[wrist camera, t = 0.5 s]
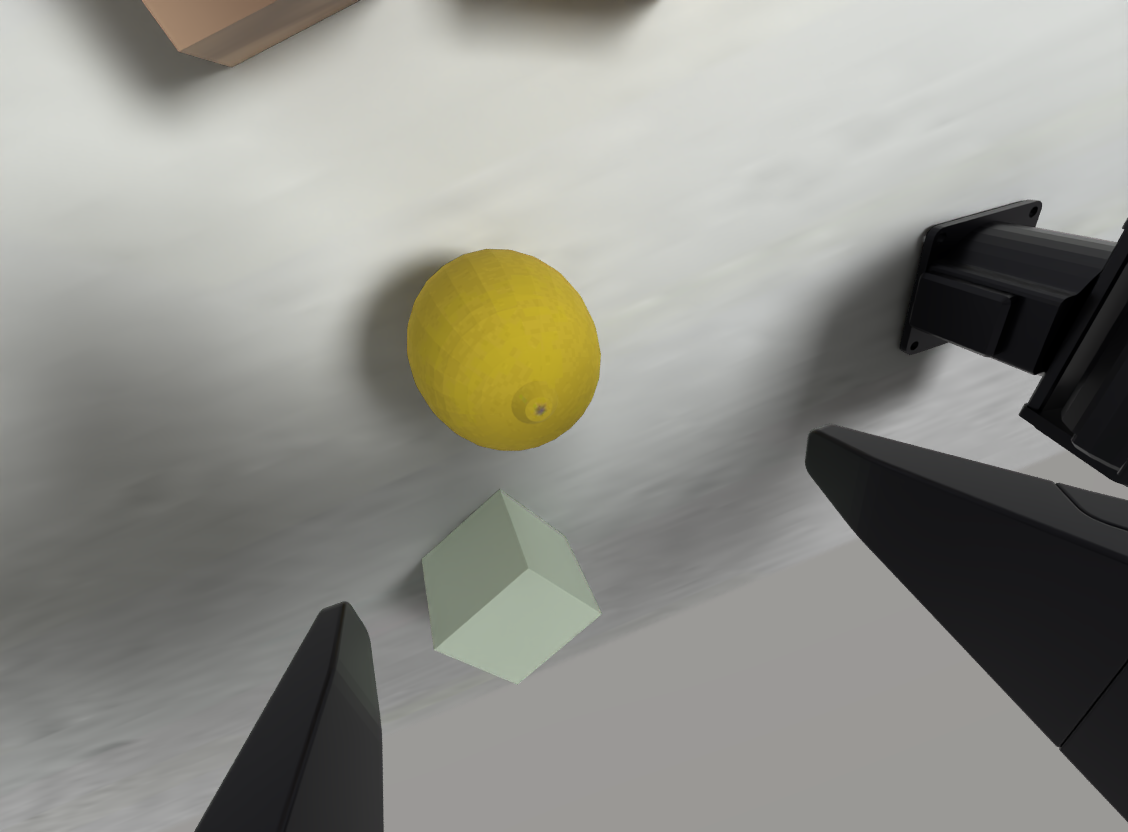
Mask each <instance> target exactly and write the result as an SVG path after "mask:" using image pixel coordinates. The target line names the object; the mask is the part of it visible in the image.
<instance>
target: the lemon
mask: <svg viewBox="0 0 1128 832" xmlns="http://www.w3.org/2000/svg"><path fill="white" fill-rule="evenodd" d="M407 355H408V360H409V363H410V367H411V370H412V374H413V378H414V381H415V384H416V386H417V388H418V389H419V391H420V393H421V394H422V396H423V397H424V399H425V401H426V402H427V404H428V405H429V407H430V409H431V410H432V411H433V413H434V414H435V415H436V416H437V417H438V418H439V419H440V420H441V421H442V422H444V423H445V424H446V425H447V426H448V427H449V428H450V429H451V430H452V431H453V432H455V433H456V434H457V435H459V436H461V437H463V438H465V439H467V440H469V441H471V442H473V443H475V444H477V445H479V446H482V447H487V448H491V449H495V450H503V451H520V450H525V449H530V448H535V447H539V446H541V445H543V444H545V443H548V442H550V441H552V440H554V439H556V438H557V437H559V436H560V435H562V434H563V433H564V432H566V431H567V430H569V429H570V428H571V427H572V426H573V425H574V424H575V423H576V422H577V421H578V420H579V418H580V417H581V416H582V415H583V414H584V412H585V410H586V408H587V407H588V405H589V403H590V402H591V400H592V398H593V395H594V392H595V389H596V386H597V383H598V380H599V372H600V358H601V353H600V348H599V342H598V337H597V332H596V328H595V325H594V322H593V320H592V318H591V316H590V314H589V312H588V310H587V308H586V306H585V304H584V302H583V300H582V298H581V296H580V295H579V293H578V292H577V291H576V290H575V289H574V288H573V287H572V286H571V284H570V283H569V282H568V281H567V280H566V279H565V278H564V277H563V276H562V275H561V273H559V272H558V271H557V270H555V269H554V268H552V267H550V266H549V265H547V264H545V263H544V262H542V261H541V260H539V259H537V258H535V257H533V256H530V255H526V254H523V253H519V252H516V251H513V250H503V249H484V250H480V251H476V252H472V253H468V254H464V255H462V256H460V257H458V258H456V259H454V260H453V261H451V262H449V263H447V264H445V265H444V266H443V267H441V268H440V269H439V270H438V271H437V272H436V273H435V274H434V275H433V276H432V277H431V278H430V279H429V280H428V281H427V282H426V283H425V285H424V287H423V288H422V290H421V291H420V293H419V295H418V296H417V298H416V300H415V302H414V305H413V309H412V312H411V315H410V319H409V322H408V328H407Z"/></svg>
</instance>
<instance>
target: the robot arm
mask: <svg viewBox="0 0 1128 832" xmlns="http://www.w3.org/2000/svg"><path fill="white" fill-rule="evenodd" d="M1041 209H1042V202H1040V201H1037V200H1025V201H1022V202H1018V203H1015V204H1011V205H1008V206H1004V207H1000V208H997V209H993V210H990V211H986V212H983V213H979V214H975V215H972V216H968V217H965V218H961V219H958V220H954V221H950V222H947V223H943V224H940V225H936V226H934V227H933V228H932V229H931V230H930V231H929V232H928V234H927V236H926V238H925V242H924V246H923V251H922V255H921V259H920V263H919V267H918V272H917V276H916V280H915V284H914V289H913V293H912V297H911V301H910V305H909V310H908V314H907V318H906V322H905V327H904V331H903V335H902V339H901V343H900V350H901V351H902V352H904V353H907V354H909V355H912V354H915V353H918V352H921V351H924V350H927V349H930V348H933V347H936V346H939V345H942V344H945V343H948V342H950V343H952V344H955V345H957V346H959V347H962V348H964V349H967V350H969V351H972V352H974V353H977V354H979V355H982V356H984V357H990V358H993V359H995V360H998V361H1000V362H1003V363H1005V364H1008V365H1010V366H1013V367H1015V368H1018V369H1020V370H1022V371H1025V372H1027V373H1030V374H1032V375H1037V374H1038V375H1040V376H1043V377H1042V378H1041V380H1040V382H1039V384H1038V386H1037V387H1036V389H1035V391H1034V393H1033V395H1032V396H1031V398H1030V400H1029V402H1028V403H1026V404H1024V406H1023V407H1022V409H1021V411H1020V413H1019V416H1020V417H1022V418H1023V419H1025V420H1026V421H1028V422H1029V423H1030V424H1032V425H1033V426H1035V428H1036V429H1038V430H1039V431H1041V432H1042V433H1043V434H1045V435H1046V436H1048V437H1049V438H1051V439H1052V440H1054V441H1055V442H1057V443H1058V444H1059V445H1061V446H1062V447H1064V448H1065V449H1067V450H1068V451H1070V452H1071V453H1073V454H1074V455H1076V456H1077V457H1078V458H1080V459H1081V460H1083V461H1084V462H1086V463H1087V464H1089V465H1090V466H1092V467H1093V468H1094V469H1096V470H1098V471H1099V472H1100V473H1102V474H1103V475H1105V476H1106V477H1108V478H1109V479H1111V480H1113V481H1115V482H1117V483H1120V484H1123V485H1125V486H1126V487H1128V218H1127V220H1126V222H1125V223H1124V225H1123V227H1122V229H1124V231H1123V233H1122V235H1121V237H1120V238H1119V240H1118V242H1113V241H1107V240H1102V239H1096V238H1091V237H1085V236H1080V235H1074V234H1069V233H1063V232H1058V231H1052V230H1047V229H1041V228H1036V227H1035V226H1036V224H1037V221H1038V218H1039V215H1040V212H1041ZM805 466H806V469H807V471H808V473H809V475H810V476H811V477H812V479H813V480H814V481H815V482H816V484H817V485H818V486H819V488H820V489H821V490H822V491H823V493H824V494H825V495H826V497H827V498H828V499H829V501H830V502H831V503H832V504H833V506H834V507H835V508H836V510H837V511H838V512H839V513H840V515H841V516H842V517H843V519H844V520H845V521H846V522H847V524H848V525H849V526H850V527H851V529H852V530H853V531H854V532H855V533H856V535H857V536H858V537H859V538H860V539H861V540H862V541H863V542H864V543H865V545H866V546H867V547H868V548H869V549H870V550H871V551H872V552H873V553H874V554H875V555H876V556H877V557H878V558H879V559H880V560H881V561H882V562H883V563H884V564H885V566H886V567H887V568H888V569H889V570H890V571H891V572H892V573H893V574H894V575H895V576H896V577H897V578H898V579H899V581H900V582H901V583H902V584H903V585H904V586H905V587H906V588H907V589H908V590H909V591H910V592H911V593H912V594H913V595H914V596H915V597H916V598H917V600H919V602H920V603H921V604H922V605H923V606H924V607H925V608H926V609H927V610H928V611H929V612H930V613H931V614H932V615H933V616H934V618H935V619H936V620H937V621H938V622H939V623H940V624H941V625H942V626H943V627H944V628H945V629H946V630H947V631H948V632H949V633H950V634H951V635H952V636H953V637H954V639H955V640H956V641H957V642H958V643H959V644H960V645H961V646H962V647H963V648H964V649H965V650H966V651H967V652H968V653H969V655H971V657H972V658H973V659H974V660H975V661H976V662H977V663H978V664H979V665H980V666H981V667H982V668H983V669H984V670H985V671H986V672H987V674H988V675H989V676H990V677H991V678H992V679H993V680H994V681H995V682H996V683H997V684H998V685H999V686H1000V687H1001V688H1002V689H1003V690H1004V691H1005V693H1006V694H1007V695H1008V696H1009V697H1010V698H1011V699H1012V700H1013V701H1014V702H1015V703H1016V704H1017V705H1018V706H1019V707H1020V708H1021V709H1022V711H1023V712H1024V713H1025V714H1026V715H1027V716H1028V717H1029V718H1030V719H1031V720H1032V721H1033V722H1034V723H1035V724H1036V725H1037V726H1038V727H1039V728H1040V730H1041V731H1042V732H1043V733H1044V734H1045V735H1046V736H1047V737H1048V738H1049V739H1050V740H1051V741H1052V742H1053V743H1054V744H1055V745H1056V746H1057V747H1059V750H1060V751H1061V752H1062V753H1063V754H1064V755H1065V756H1066V757H1067V759H1068V760H1069V761H1070V762H1071V763H1072V764H1073V765H1074V766H1075V767H1076V768H1077V769H1078V770H1079V771H1080V772H1081V773H1082V774H1083V775H1084V776H1085V778H1086V779H1087V780H1088V781H1089V782H1090V783H1091V784H1092V785H1093V786H1094V787H1095V788H1096V789H1097V790H1098V791H1099V792H1100V793H1101V794H1102V795H1103V797H1105V799H1107V801H1108V802H1109V803H1110V804H1111V805H1112V806H1113V807H1114V808H1115V809H1116V810H1117V811H1118V812H1119V813H1120V814H1121V816H1123V818H1125V820H1126V821H1127V822H1128V500H1125V499H1120V498H1116V497H1112V496H1108V495H1104V494H1100V493H1096V492H1092V491H1088V490H1084V489H1080V488H1077V487H1073V486H1069V485H1065V484H1061V483H1056V484H1055V483H1054V482H1052V481H1049V480H1045V479H1042V478H1038V477H1034V476H1030V475H1026V474H1022V473H1019V472H1015V471H1011V470H1007V469H1003V468H999V467H995V466H992V465H988V464H984V463H980V462H976V461H972V460H968V459H965V458H961V457H957V456H953V455H949V454H945V453H941V452H938V451H934V450H930V449H926V448H922V447H918V446H914V445H911V444H907V443H903V442H899V441H895V440H891V439H887V438H884V437H880V436H876V435H872V434H868V433H864V432H860V431H857V430H853V429H849V428H845V427H841V426H837V425H833V424H827V425H824V426H821V427H818V428H816V429H813V430H811V431H810V433H809V434H808V440H807V448H806V457H805ZM382 762H383V760H382V729H381V720H380V711H379V704H378V696H377V689H376V681H375V673H374V666H373V658H372V651H371V643H370V638H369V635H368V632H367V629H366V628H365V626H364V624H363V623H362V621H361V620H360V618H359V617H358V615H357V614H356V612H355V610H354V609H353V607H352V606H351V605H350V604H349V603H348V602H346V601H345V602H340V603H337V604H335V605H332V606H329V607H327V608H324V609H323V610H322V611H321V612H320V613H319V614H318V616H317V618H316V619H315V621H314V623H313V625H312V626H311V628H310V630H309V632H308V633H307V635H306V637H305V639H304V640H303V642H302V644H301V646H300V647H299V649H298V651H297V653H296V654H295V656H294V658H293V660H292V661H291V663H290V665H289V667H288V668H287V670H286V672H285V674H284V675H283V677H282V679H281V681H280V682H279V684H278V686H277V688H276V689H275V691H274V693H273V695H272V696H271V698H270V700H269V702H268V703H267V705H266V707H265V709H264V710H263V712H262V714H261V716H260V717H259V719H258V721H257V723H256V724H255V726H254V728H253V730H252V731H251V733H250V735H249V737H248V738H247V740H246V742H245V744H244V745H243V747H242V749H241V751H240V752H239V754H238V756H237V758H236V759H235V761H234V763H233V765H232V766H231V768H230V770H229V772H228V773H227V775H226V777H225V779H224V780H223V782H222V784H221V786H220V787H219V789H218V791H217V793H216V794H215V796H214V798H213V800H212V801H211V803H210V805H209V807H208V808H207V810H206V812H205V814H204V815H203V817H202V819H201V821H200V822H199V824H198V826H197V828H196V829H195V831H194V832H384V824H383V767H382V766H383V763H382Z"/></svg>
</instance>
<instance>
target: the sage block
mask: <svg viewBox="0 0 1128 832" xmlns="http://www.w3.org/2000/svg"><path fill="white" fill-rule="evenodd" d="M422 566H423V573H424V580H425V588H426V595H427V602H428V610H429V617H430V625H431V632H432V639H433V647H434V650H435V651H437V652H440V653H442V654H445V655H447V656H450V657H452V658H454V659H457V660H459V661H462V662H464V663H466V664H469V665H471V666H474V667H476V668H478V669H481V670H483V671H486V672H488V673H491V674H493V675H495V676H498V677H500V678H503V679H505V680H507V681H510V682H512V683H515V684H517V685H518V684H519V683H520V682H521V681H523V680H524V679H525V678H526V677H527V676H529V675H530V674H531V673H532V672H533V671H534V670H536V669H537V668H538V667H539V666H540V665H542V664H543V663H544V662H545V661H546V660H548V659H549V658H550V657H551V656H552V655H554V654H555V653H556V652H557V651H558V650H560V649H561V648H562V647H563V646H564V645H566V644H567V643H568V642H569V641H570V640H572V639H573V638H574V637H575V636H576V635H578V634H579V633H580V632H581V631H582V630H584V629H585V628H586V627H587V626H588V625H589V624H591V623H592V622H593V621H594V620H595V619H597V618H598V617H599V616H600V615H601V614H602V613H601V611H600V609H599V607H598V605H597V602H596V600H595V598H594V596H593V594H592V592H591V590H590V588H589V586H588V583H587V581H586V579H585V577H584V575H583V573H582V571H581V569H580V567H579V565H578V562H577V560H576V558H575V556H574V554H573V552H572V550H571V548H570V546H569V544H568V541H567V539H566V537H565V536H564V535H562V534H561V533H559V532H558V531H557V530H555V529H554V528H553V527H551V526H550V525H548V524H547V523H546V522H544V521H543V520H542V519H540V518H539V517H537V516H536V515H535V514H533V513H532V512H531V511H529V510H528V509H526V508H525V507H524V506H522V505H521V504H520V503H518V502H517V501H515V500H514V499H513V498H511V497H510V496H509V495H507V494H506V493H504V492H503V491H502V490H500V489H499V490H498V491H497V492H496V493H495V494H494V495H493V496H492V497H491V498H489V499H488V500H487V501H486V502H485V503H484V504H483V505H482V506H481V507H479V508H478V509H477V510H476V511H475V512H474V513H473V514H472V515H470V516H469V517H468V518H467V519H466V520H465V521H464V522H463V523H462V524H460V525H459V526H458V527H457V528H456V529H455V530H454V531H453V532H452V533H450V534H449V535H448V536H447V537H446V538H445V539H444V540H443V541H441V542H440V543H439V544H438V545H437V546H436V547H435V548H434V549H433V550H431V551H430V552H429V553H428V554H427V555H426V556H425V557H424V558H423V559H422Z"/></svg>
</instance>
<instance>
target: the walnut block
mask: <svg viewBox="0 0 1128 832" xmlns="http://www.w3.org/2000/svg"><path fill="white" fill-rule="evenodd" d="M358 1H360V0H142V2H143V3H144V5H145V6H146V7H147V9H148V10H149V11H150V13H151V14H152V16H153V17H154V18H155V20H156V21H157V22H158V24H159V25H160V27H161V28H162V29H163V31H164V32H165V34H166V35H167V36H168V38H169V39H170V40H171V42H172V43H173V45H174V46H175V47H176V49H177V50H178V52H181V53H185V54H188V55H191V56H195V57H198V58H202V59H205V60H208V61H212V62H215V63H218V64H222V65H225V66H229V67H234V66H236V65H237V64H239V63H241V62H243V61H245V60H247V59H249V58H251V57H253V56H255V55H257V54H259V53H260V52H262V51H264V50H266V49H268V48H270V47H272V46H274V45H276V44H278V43H280V42H281V41H283V40H285V39H287V38H289V37H291V36H293V35H295V34H297V33H299V32H301V31H302V30H304V29H306V28H308V27H310V26H312V25H314V24H316V23H318V22H320V21H322V20H324V19H325V18H327V17H329V16H331V15H333V14H335V13H337V12H339V11H341V10H343V9H345V8H346V7H348V6H350V5H352V4H354V3H356V2H358Z"/></svg>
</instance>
